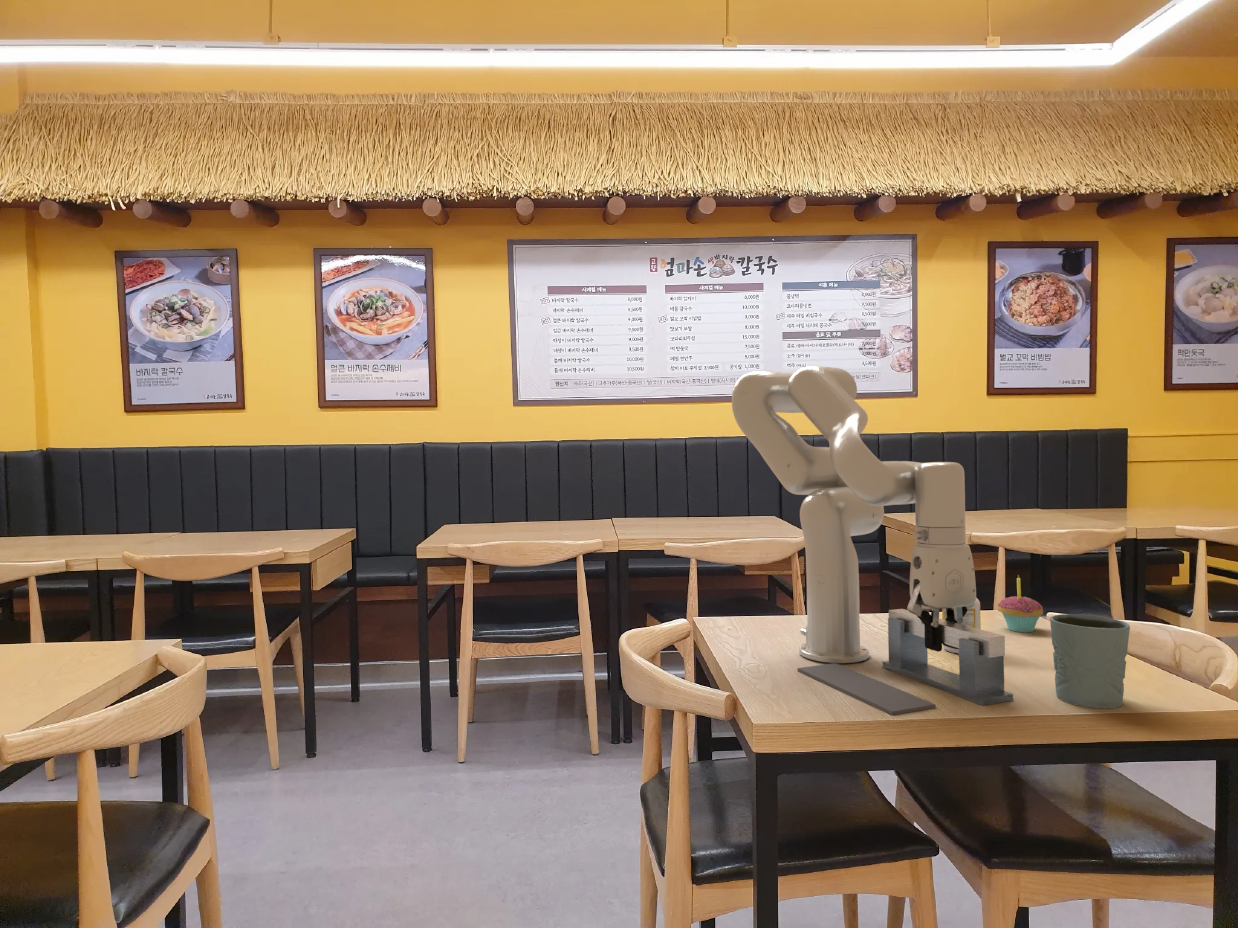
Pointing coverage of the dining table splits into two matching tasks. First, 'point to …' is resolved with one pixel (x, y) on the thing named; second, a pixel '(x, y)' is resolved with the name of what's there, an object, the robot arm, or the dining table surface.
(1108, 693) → the green planter pot
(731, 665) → the dining table surface
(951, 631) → the rail
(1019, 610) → the cupcake
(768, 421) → the robot arm
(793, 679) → the dining table surface
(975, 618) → the supplement bottle
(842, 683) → the mat
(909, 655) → the rack
